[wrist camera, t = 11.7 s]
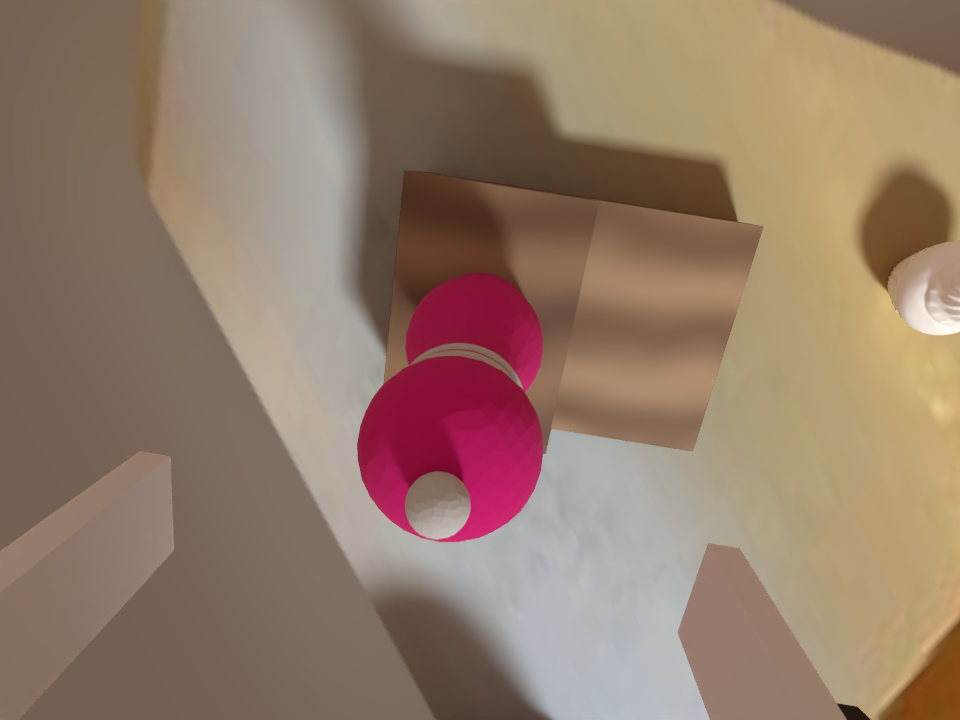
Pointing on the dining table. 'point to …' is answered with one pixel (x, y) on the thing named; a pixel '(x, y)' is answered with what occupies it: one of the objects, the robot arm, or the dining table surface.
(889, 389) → the dining table surface
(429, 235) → the step stand
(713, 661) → the robot arm
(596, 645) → the dining table surface
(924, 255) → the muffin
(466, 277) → the pepper mill
